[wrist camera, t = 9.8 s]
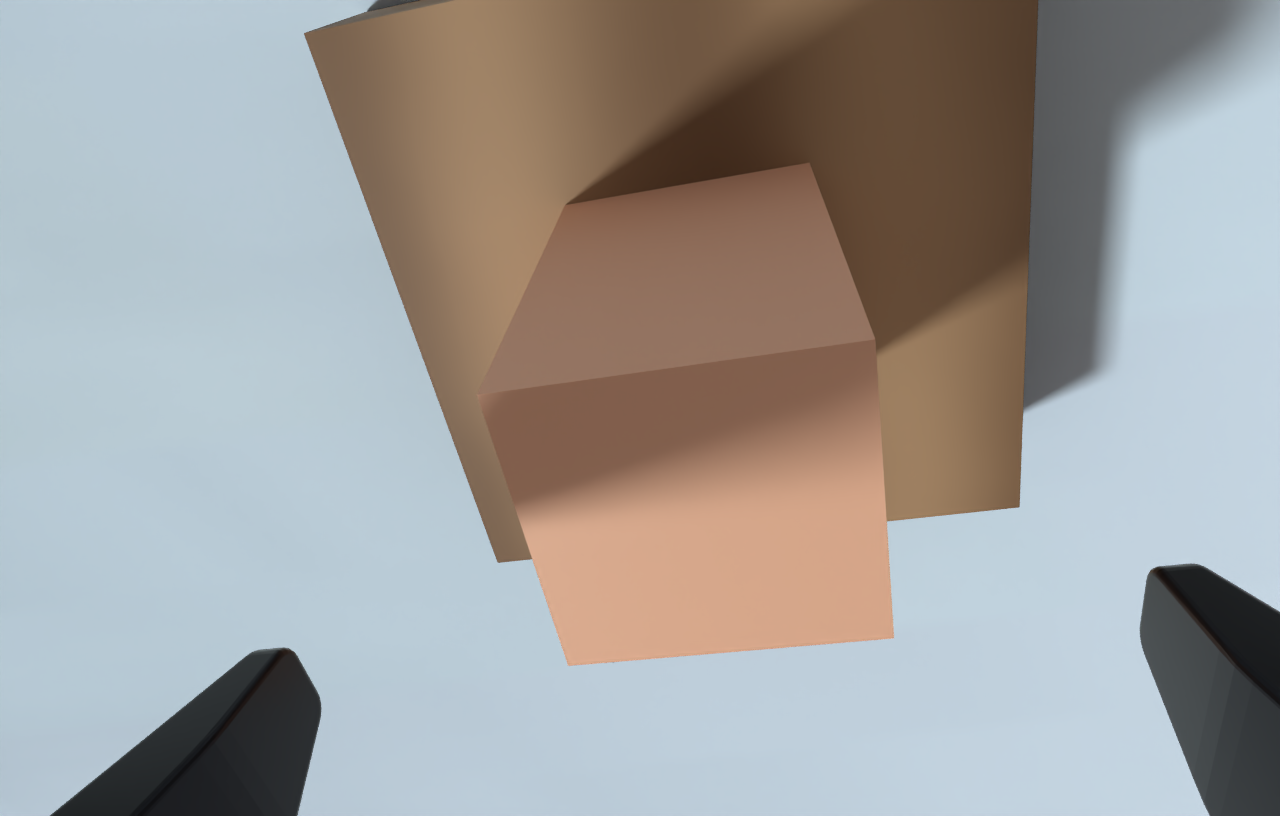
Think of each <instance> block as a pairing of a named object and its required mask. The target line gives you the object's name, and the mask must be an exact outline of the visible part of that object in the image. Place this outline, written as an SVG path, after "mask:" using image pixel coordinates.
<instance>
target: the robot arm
mask: <svg viewBox="0 0 1280 816" xmlns="http://www.w3.org/2000/svg"><path fill="white" fill-rule="evenodd" d="M1140 638H1141V644H1142V648H1143V651H1144V654H1145V657H1146V659H1147V662H1148V665H1149V667H1150V670H1151V672H1152V675H1153V677H1154V680H1155V682H1156V685H1157V687H1158V690H1159V692H1160V695H1161V698H1162V700H1163V703H1164V705H1165V708H1166V710H1167V713H1168V715H1169V718H1170V720H1171V723H1172V726H1173V728H1174V731H1175V733H1176V736H1177V738H1178V741H1179V743H1180V746H1181V748H1182V751H1183V754H1184V756H1185V759H1186V761H1187V764H1188V766H1189V769H1190V771H1191V774H1192V776H1193V779H1194V781H1195V784H1196V786H1197V788H1198V791H1199V793H1200V796H1201V798H1202V800H1203V803H1204V805H1205V807H1206V809H1207V811H1208V813H1209V815H1210V816H1280V612H1279V611H1278V610H1276V609H1274V608H1273V607H1271V606H1269V605H1268V604H1266V603H1264V602H1263V601H1261V600H1259V599H1258V598H1256V597H1254V596H1253V595H1251V594H1249V593H1248V592H1246V591H1244V590H1243V589H1241V588H1239V587H1238V586H1236V585H1234V584H1233V583H1231V582H1229V581H1228V580H1226V579H1224V578H1223V577H1221V576H1219V575H1218V574H1216V573H1214V572H1213V571H1211V570H1209V569H1208V568H1206V567H1204V566H1201V565H1198V564H1181V565H1170V566H1159V567H1156V568H1153V569H1152V570H1151V571H1150V572H1149V574H1148V577H1147V580H1146V587H1145V594H1144V601H1143V608H1142V616H1141V623H1140ZM320 717H321V701H320V697H319V694H318V692H317V690H316V688H315V687H314V685H313V683H312V681H311V680H310V678H309V676H308V674H307V672H306V671H305V669H304V667H303V665H302V664H301V662H300V660H299V658H298V656H297V655H296V654H295V652H293V651H292V650H290V649H289V648H273V649H263V650H257V651H254V652H252V653H250V654H249V655H247V656H246V657H245V658H243V659H242V660H241V661H240V662H238V663H237V664H236V665H235V666H234V667H232V668H231V669H230V670H229V671H227V672H226V673H225V674H224V675H222V676H221V677H220V678H219V679H218V680H216V681H215V682H214V683H213V684H211V685H210V686H209V687H208V688H206V689H205V690H204V691H203V692H202V693H200V694H199V695H198V696H197V697H195V698H194V699H193V700H192V701H190V702H189V703H188V704H187V705H186V706H184V707H183V708H182V709H181V710H179V711H178V712H177V713H176V714H174V715H173V716H172V717H171V718H170V719H168V720H167V721H166V722H165V723H163V724H162V725H161V726H160V727H158V728H157V729H156V730H155V731H154V732H152V733H151V734H150V735H149V736H147V737H146V738H145V739H144V740H142V741H141V742H140V743H139V744H138V745H136V746H135V747H134V748H133V749H131V750H130V751H129V752H128V753H126V754H125V755H124V756H123V757H122V758H120V759H119V760H118V761H117V762H115V763H114V764H113V765H112V766H110V767H109V768H108V769H107V770H106V771H104V772H103V773H102V774H101V775H99V776H98V777H97V778H96V779H94V780H93V781H92V782H91V783H90V784H88V785H87V786H86V787H85V788H83V789H82V790H81V791H80V792H78V793H77V794H76V795H75V796H74V797H72V798H71V799H70V800H69V801H67V802H66V803H65V804H64V805H62V806H61V807H60V808H59V809H58V810H56V811H55V812H54V813H53V814H51V815H50V816H297V815H298V811H299V807H300V802H301V798H302V794H303V790H304V786H305V781H306V777H307V773H308V769H309V765H310V760H311V756H312V752H313V748H314V743H315V739H316V735H317V731H318V727H319V722H320Z"/></svg>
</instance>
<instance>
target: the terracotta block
mask: <svg viewBox="0 0 1280 816" xmlns="http://www.w3.org/2000/svg"><path fill="white" fill-rule="evenodd" d="M477 397H478V400H479V403H480V406H481V409H482V412H483V415H484V418H485V421H486V424H487V427H488V430H489V433H490V436H491V438H492V441H493V444H494V447H495V450H496V453H497V456H498V459H499V462H500V465H501V468H502V471H503V474H504V477H505V480H506V483H507V486H508V489H509V492H510V495H511V498H512V501H513V504H514V507H515V509H516V512H517V515H518V518H519V521H520V524H521V527H522V530H523V533H524V536H525V539H526V542H527V545H528V548H529V551H530V554H531V557H532V560H533V563H534V566H535V569H536V572H537V575H538V578H539V580H540V583H541V586H542V589H543V592H544V595H545V598H546V601H547V604H548V607H549V610H550V613H551V616H552V619H553V622H554V625H555V628H556V631H557V634H558V637H559V640H560V643H561V646H562V649H563V651H564V654H565V657H566V660H567V663H568V666H572V665H584V664H596V663H607V662H619V661H631V660H643V659H655V658H666V657H678V656H690V655H702V654H714V653H726V652H737V651H749V650H761V649H773V648H785V647H796V646H808V645H820V644H832V643H844V642H856V641H867V640H879V639H891V638H894V632H893V615H892V599H891V583H890V567H889V551H888V535H887V518H886V502H885V486H884V470H883V454H882V437H881V421H880V405H879V389H878V373H877V357H876V340H875V337H874V334H873V332H872V329H871V326H870V323H869V321H868V318H867V315H866V313H865V310H864V307H863V305H862V302H861V299H860V297H859V294H858V291H857V289H856V286H855V283H854V281H853V278H852V275H851V273H850V270H849V267H848V265H847V262H846V259H845V257H844V254H843V251H842V248H841V246H840V243H839V240H838V238H837V235H836V232H835V230H834V227H833V224H832V222H831V219H830V216H829V214H828V211H827V208H826V206H825V203H824V200H823V198H822V195H821V192H820V190H819V187H818V184H817V181H816V179H815V176H814V173H813V171H812V168H811V165H810V163H804V164H799V165H793V166H787V167H781V168H776V169H770V170H764V171H758V172H753V173H747V174H741V175H735V176H730V177H724V178H718V179H712V180H707V181H701V182H695V183H689V184H684V185H678V186H672V187H666V188H661V189H655V190H649V191H643V192H638V193H632V194H626V195H620V196H615V197H609V198H603V199H597V200H592V201H586V202H580V203H574V204H569V205H565V206H564V208H563V210H562V212H561V215H560V217H559V219H558V221H557V223H556V225H555V227H554V230H553V232H552V234H551V236H550V238H549V240H548V243H547V245H546V247H545V249H544V251H543V253H542V255H541V258H540V260H539V262H538V264H537V266H536V268H535V271H534V273H533V275H532V277H531V279H530V281H529V284H528V286H527V288H526V290H525V292H524V294H523V296H522V299H521V301H520V303H519V305H518V307H517V309H516V312H515V314H514V316H513V318H512V320H511V322H510V325H509V327H508V329H507V331H506V333H505V335H504V337H503V340H502V342H501V344H500V346H499V348H498V350H497V353H496V355H495V357H494V359H493V361H492V363H491V366H490V368H489V370H488V372H487V374H486V376H485V378H484V381H483V383H482V385H481V387H480V389H479V391H478V394H477Z"/></svg>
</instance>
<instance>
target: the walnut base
mask: <svg viewBox="0 0 1280 816" xmlns="http://www.w3.org/2000/svg"><path fill="white" fill-rule="evenodd" d="M1037 19H1038V0H419V1H414V2H410V3H405V4H401V5H396V6H391V7H387V8H382V9H378V10H373V11H369V12H364V13H361V14H359V15H356V16H353V17H350V18H347V19H344V20H341V21H338V22H335V23H332V24H330V25H327V26H324V27H321V28H318V29H315V30H312V31H309V32H306V33H304V35H305V38H306V40H307V43H308V46H309V49H310V51H311V54H312V57H313V59H314V62H315V65H316V68H317V70H318V73H319V76H320V79H321V81H322V84H323V87H324V89H325V92H326V95H327V98H328V100H329V103H330V106H331V109H332V111H333V114H334V117H335V120H336V122H337V125H338V128H339V130H340V133H341V136H342V139H343V141H344V144H345V147H346V150H347V152H348V155H349V158H350V160H351V163H352V166H353V169H354V171H355V174H356V177H357V180H358V182H359V185H360V188H361V191H362V193H363V196H364V199H365V201H366V204H367V207H368V210H369V212H370V215H371V218H372V221H373V223H374V226H375V229H376V231H377V234H378V237H379V240H380V242H381V245H382V248H383V251H384V253H385V256H386V259H387V261H388V264H389V267H390V270H391V272H392V275H393V278H394V281H395V283H396V286H397V289H398V292H399V294H400V297H401V300H402V302H403V305H404V308H405V311H406V313H407V316H408V319H409V322H410V324H411V327H412V330H413V332H414V335H415V338H416V341H417V343H418V346H419V349H420V352H421V354H422V357H423V360H424V362H425V365H426V368H427V371H428V373H429V376H430V379H431V382H432V384H433V387H434V390H435V393H436V395H437V398H438V401H439V403H440V406H441V409H442V412H443V414H444V417H445V420H446V423H447V425H448V428H449V431H450V433H451V436H452V439H453V442H454V444H455V447H456V450H457V453H458V455H459V458H460V461H461V463H462V466H463V469H464V472H465V474H466V477H467V480H468V483H469V485H470V488H471V491H472V494H473V496H474V499H475V502H476V504H477V507H478V510H479V513H480V515H481V518H482V521H483V524H484V526H485V529H486V532H487V534H488V537H489V540H490V543H491V545H492V548H493V551H494V554H495V556H496V559H497V562H498V563H500V562H509V561H519V560H528V559H532V557H531V554H530V551H529V548H528V545H527V542H526V539H525V536H524V533H523V530H522V527H521V524H520V521H519V518H518V515H517V512H516V509H515V507H514V504H513V501H512V498H511V495H510V492H509V489H508V486H507V483H506V480H505V477H504V474H503V471H502V468H501V465H500V462H499V459H498V456H497V453H496V450H495V447H494V444H493V441H492V438H491V436H490V433H489V430H488V427H487V424H486V421H485V418H484V415H483V412H482V409H481V406H480V403H479V400H478V397H477V394H478V391H479V389H480V387H481V385H482V383H483V381H484V378H485V376H486V374H487V372H488V370H489V368H490V366H491V363H492V361H493V359H494V357H495V355H496V353H497V350H498V348H499V346H500V344H501V342H502V340H503V337H504V335H505V333H506V331H507V329H508V327H509V325H510V322H511V320H512V318H513V316H514V314H515V312H516V309H517V307H518V305H519V303H520V301H521V299H522V296H523V294H524V292H525V290H526V288H527V286H528V284H529V281H530V279H531V277H532V275H533V273H534V271H535V268H536V266H537V264H538V262H539V260H540V258H541V255H542V253H543V251H544V249H545V247H546V245H547V243H548V240H549V238H550V236H551V234H552V232H553V230H554V227H555V225H556V223H557V221H558V219H559V217H560V215H561V212H562V210H563V208H564V206H565V205H569V204H574V203H580V202H586V201H592V200H597V199H603V198H609V197H615V196H620V195H626V194H632V193H638V192H643V191H649V190H655V189H661V188H666V187H672V186H678V185H684V184H689V183H695V182H701V181H707V180H712V179H718V178H724V177H730V176H735V175H741V174H747V173H753V172H758V171H764V170H770V169H776V168H781V167H787V166H793V165H799V164H804V163H810V165H811V168H812V171H813V173H814V176H815V179H816V181H817V184H818V187H819V190H820V192H821V195H822V198H823V200H824V203H825V206H826V208H827V211H828V214H829V216H830V219H831V222H832V224H833V227H834V230H835V232H836V235H837V238H838V240H839V243H840V246H841V248H842V251H843V254H844V257H845V259H846V262H847V265H848V267H849V270H850V273H851V275H852V278H853V281H854V283H855V286H856V289H857V291H858V294H859V297H860V299H861V302H862V305H863V307H864V310H865V313H866V315H867V318H868V321H869V323H870V326H871V329H872V332H873V334H874V337H875V340H876V357H877V373H878V389H879V405H880V421H881V437H882V454H883V470H884V486H885V502H886V518H887V521H895V520H904V519H913V518H923V517H932V516H942V515H951V514H960V513H970V512H979V511H989V510H998V509H1007V508H1017V507H1019V505H1020V478H1021V451H1022V424H1023V397H1024V370H1025V343H1026V316H1027V289H1028V262H1029V235H1030V208H1031V181H1032V154H1033V127H1034V100H1035V73H1036V46H1037Z"/></svg>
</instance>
